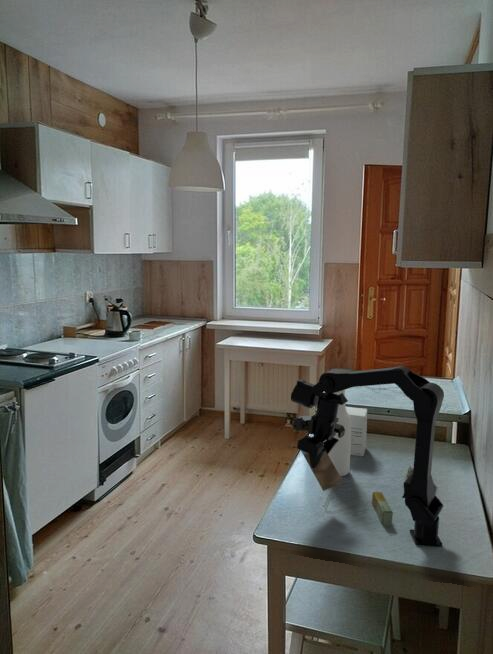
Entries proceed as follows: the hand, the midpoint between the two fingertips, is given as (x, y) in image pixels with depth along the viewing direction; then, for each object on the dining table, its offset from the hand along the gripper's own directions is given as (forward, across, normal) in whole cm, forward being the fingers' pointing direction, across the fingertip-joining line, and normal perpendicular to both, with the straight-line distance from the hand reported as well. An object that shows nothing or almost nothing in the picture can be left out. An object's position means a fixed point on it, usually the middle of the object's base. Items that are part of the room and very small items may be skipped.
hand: (316, 464), depth 143 cm
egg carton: (+9, -29, +23) cm, 38 cm away
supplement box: (+13, -43, -5) cm, 45 cm away
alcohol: (+13, -23, -2) cm, 27 cm away
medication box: (+10, -6, +19) cm, 22 cm away
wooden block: (+4, 0, +6) cm, 7 cm away
